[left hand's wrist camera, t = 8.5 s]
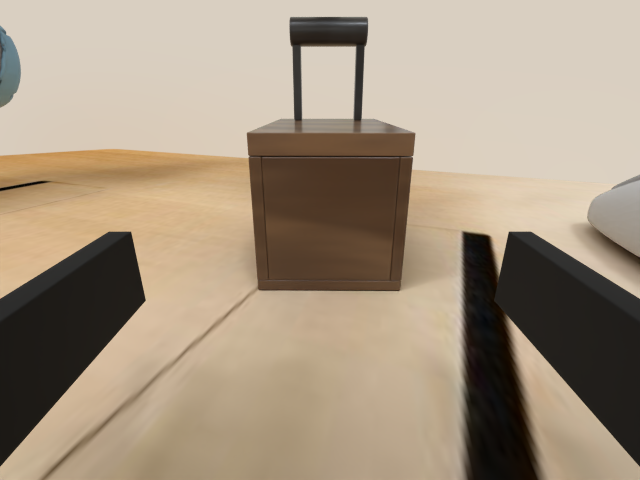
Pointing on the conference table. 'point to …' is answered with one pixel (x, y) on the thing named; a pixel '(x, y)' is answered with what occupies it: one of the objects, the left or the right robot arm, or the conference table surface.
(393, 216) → the chest
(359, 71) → the lid
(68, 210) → the conference table surface
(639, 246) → the projector
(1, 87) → the right robot arm
